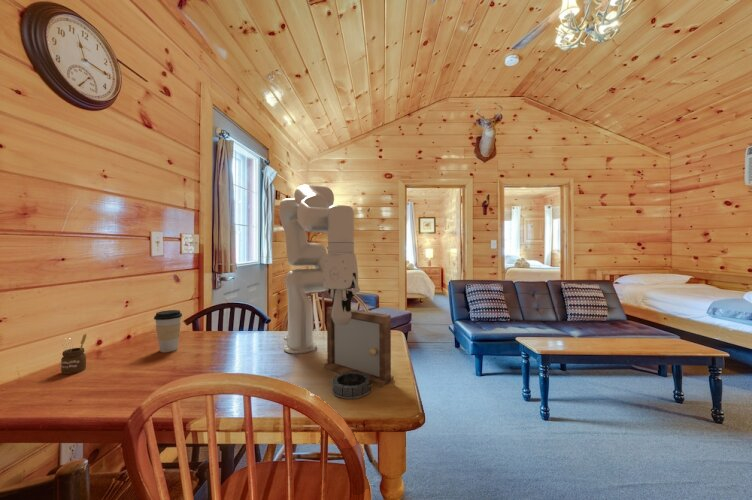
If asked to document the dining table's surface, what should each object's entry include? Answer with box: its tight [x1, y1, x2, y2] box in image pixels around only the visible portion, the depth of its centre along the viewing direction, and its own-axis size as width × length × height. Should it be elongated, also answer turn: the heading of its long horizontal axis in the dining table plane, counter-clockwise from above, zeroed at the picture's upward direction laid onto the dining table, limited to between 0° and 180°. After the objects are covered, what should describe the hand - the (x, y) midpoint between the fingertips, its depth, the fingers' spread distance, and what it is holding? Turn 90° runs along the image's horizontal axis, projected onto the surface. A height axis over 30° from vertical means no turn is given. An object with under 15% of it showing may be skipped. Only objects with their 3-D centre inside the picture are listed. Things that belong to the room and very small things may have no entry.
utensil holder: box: [60, 333, 87, 375], centre depth 102 cm, size 6×6×12 cm
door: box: [334, 318, 380, 377], centre depth 99 cm, size 19×3×16 cm, turn 53°
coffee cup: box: [153, 309, 183, 353], centre depth 123 cm, size 9×9×15 cm
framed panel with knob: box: [323, 306, 395, 388], centre depth 99 cm, size 24×6×20 cm, turn 53°
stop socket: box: [331, 372, 372, 400], centre depth 88 cm, size 11×11×3 cm
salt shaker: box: [331, 289, 352, 326], centre depth 89 cm, size 6×6×13 cm
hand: (341, 312), depth 89 cm, fingers closed on salt shaker, 3 cm apart
